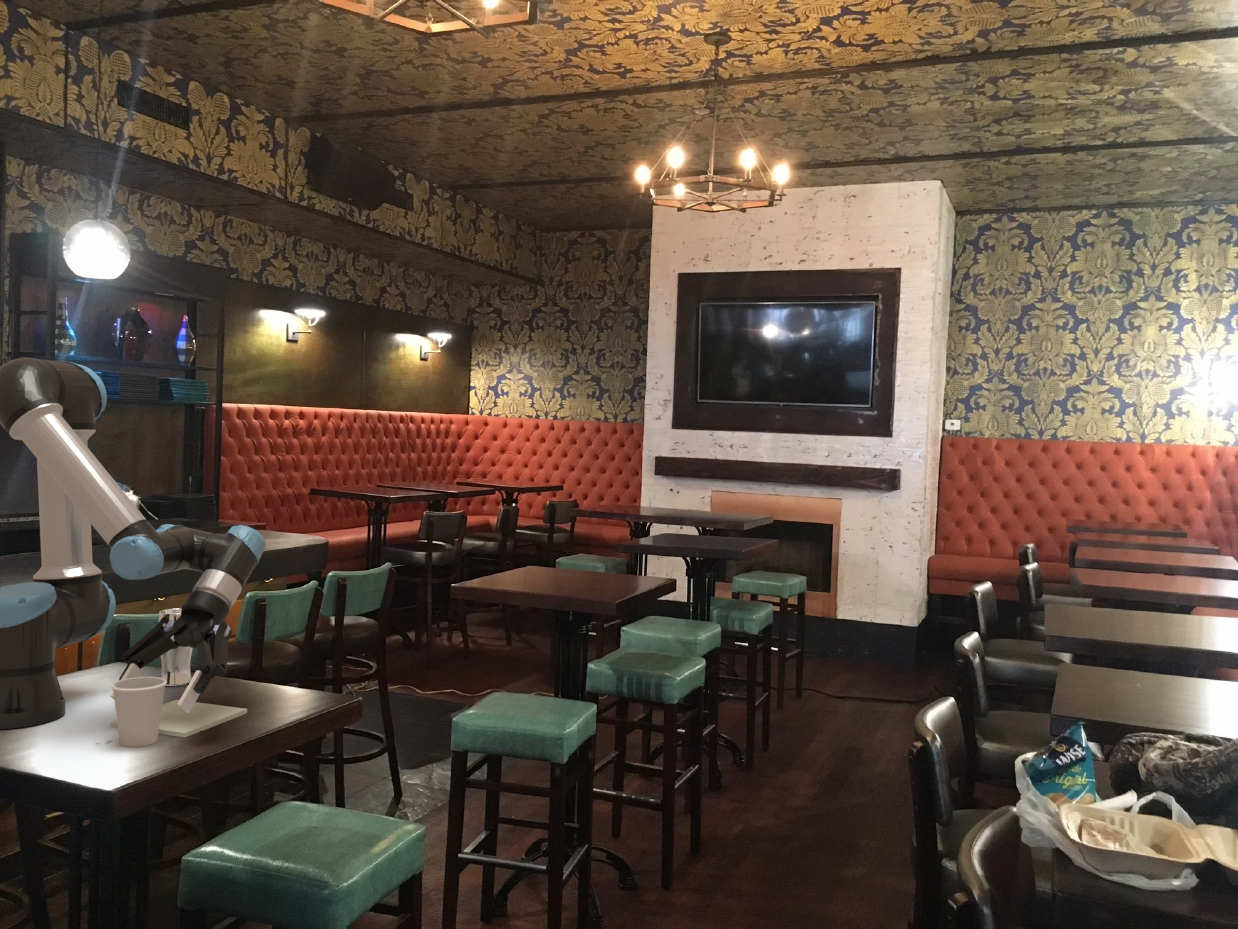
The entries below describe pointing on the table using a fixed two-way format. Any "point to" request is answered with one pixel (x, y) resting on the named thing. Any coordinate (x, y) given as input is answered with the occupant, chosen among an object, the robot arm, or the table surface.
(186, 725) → the sage mat
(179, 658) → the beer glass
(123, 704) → the dixie cup
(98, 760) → the table surface
